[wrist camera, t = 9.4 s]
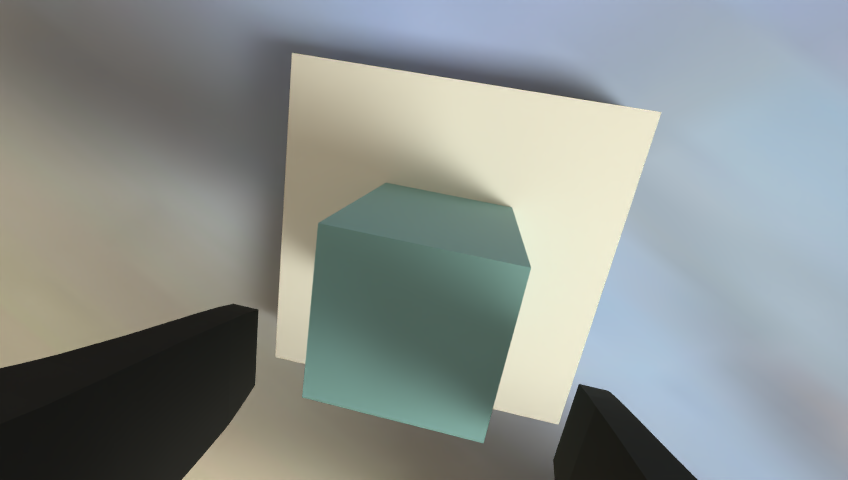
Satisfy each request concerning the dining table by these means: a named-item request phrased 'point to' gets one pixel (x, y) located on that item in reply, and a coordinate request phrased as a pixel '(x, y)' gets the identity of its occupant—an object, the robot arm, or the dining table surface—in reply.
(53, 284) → the dining table surface
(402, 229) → the teal block
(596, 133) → the plinth
